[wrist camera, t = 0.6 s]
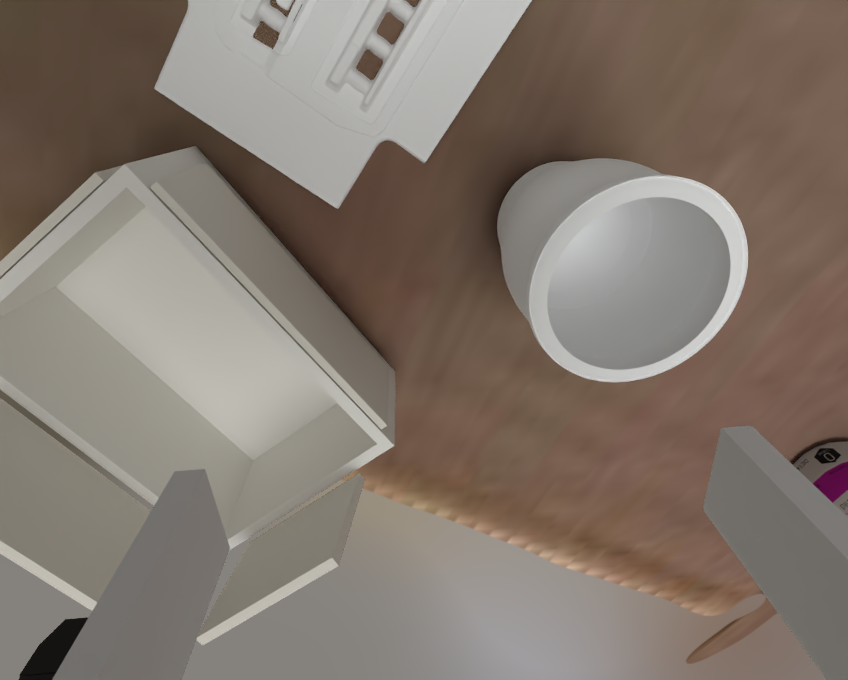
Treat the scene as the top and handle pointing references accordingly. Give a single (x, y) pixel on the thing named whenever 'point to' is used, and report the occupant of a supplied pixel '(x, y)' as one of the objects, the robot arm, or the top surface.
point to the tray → (332, 78)
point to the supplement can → (828, 471)
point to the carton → (189, 344)
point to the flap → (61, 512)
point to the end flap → (286, 558)
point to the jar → (620, 265)
